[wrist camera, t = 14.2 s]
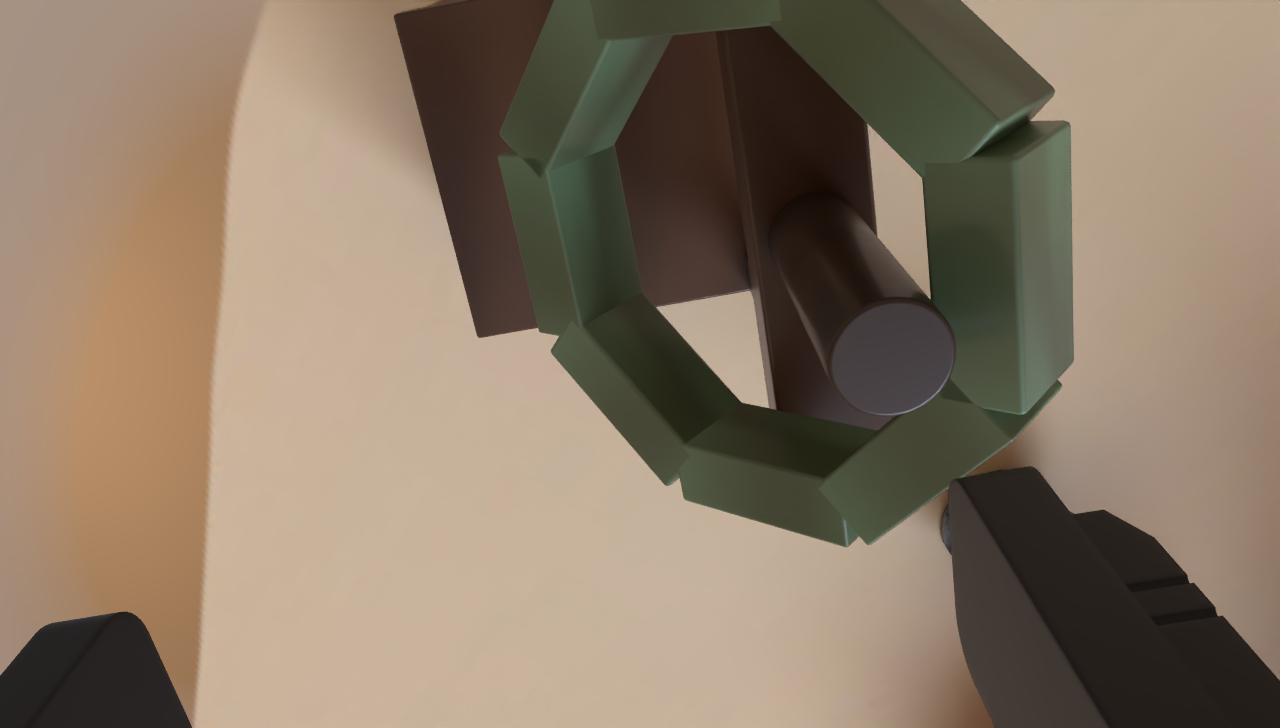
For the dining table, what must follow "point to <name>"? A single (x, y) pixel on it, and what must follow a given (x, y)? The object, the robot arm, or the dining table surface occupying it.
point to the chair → (699, 203)
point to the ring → (956, 242)
